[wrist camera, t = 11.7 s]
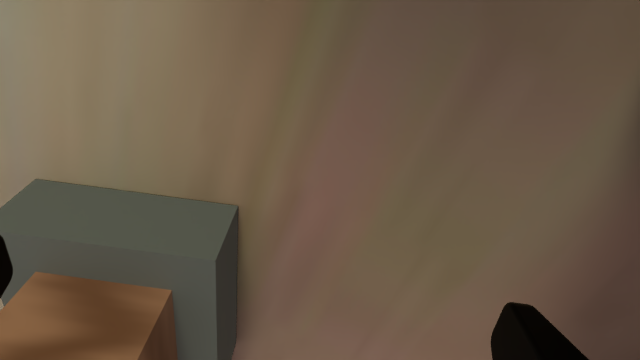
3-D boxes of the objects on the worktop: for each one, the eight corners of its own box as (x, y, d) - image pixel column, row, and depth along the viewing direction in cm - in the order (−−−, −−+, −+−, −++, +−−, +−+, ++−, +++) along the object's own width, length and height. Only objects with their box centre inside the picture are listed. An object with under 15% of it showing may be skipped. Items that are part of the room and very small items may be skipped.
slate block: (238, 205, 22) (215, 260, 19) (235, 342, 27) (217, 405, 24) (35, 178, 22) (-25, 228, 19) (71, 320, 27) (30, 379, 24)
